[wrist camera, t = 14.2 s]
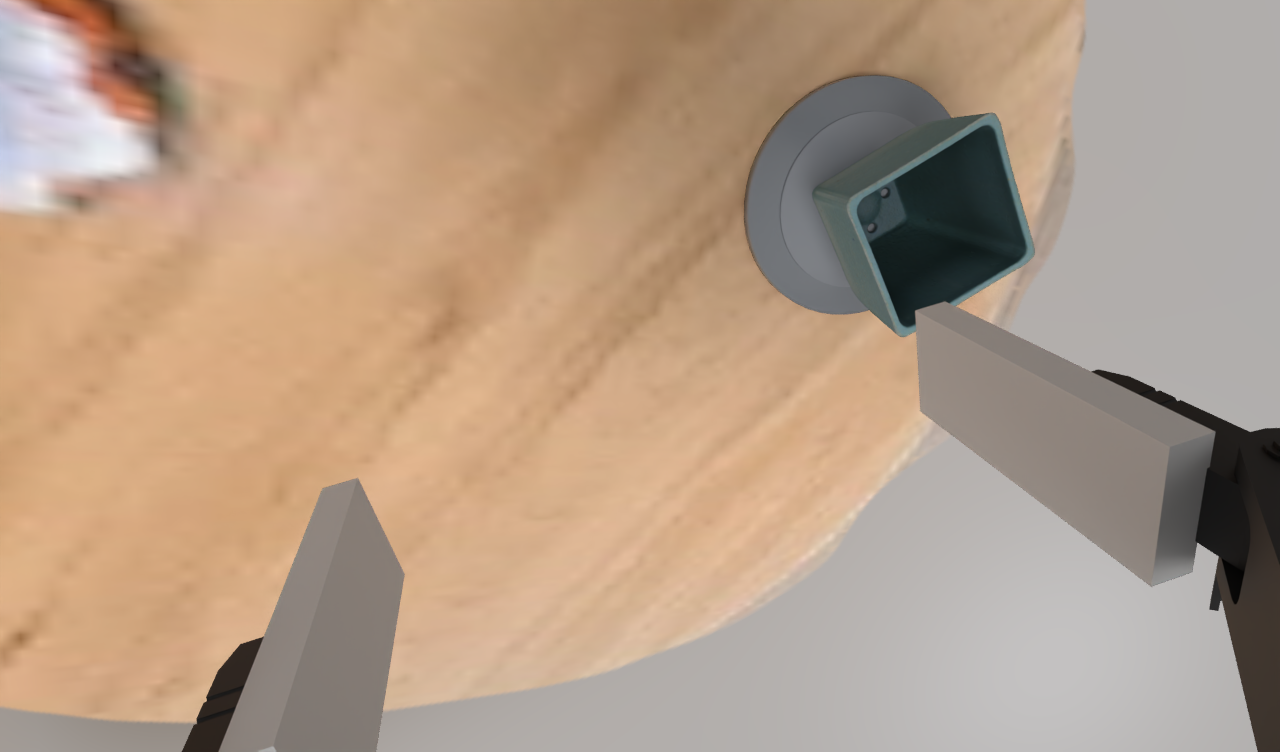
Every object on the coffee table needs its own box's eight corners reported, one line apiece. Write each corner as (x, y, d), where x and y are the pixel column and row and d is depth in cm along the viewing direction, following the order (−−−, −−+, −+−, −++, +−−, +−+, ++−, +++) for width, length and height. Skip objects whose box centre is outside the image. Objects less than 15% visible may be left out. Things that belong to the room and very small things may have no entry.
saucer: (810, 32, 40) (820, 30, 39) (997, 133, 45) (1010, 135, 44) (706, 267, 45) (712, 272, 44) (886, 337, 50) (896, 343, 48)
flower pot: (899, 102, 42) (999, 107, 34) (941, 226, 46) (1039, 257, 38) (775, 178, 42) (844, 201, 34) (827, 295, 46) (900, 341, 38)
